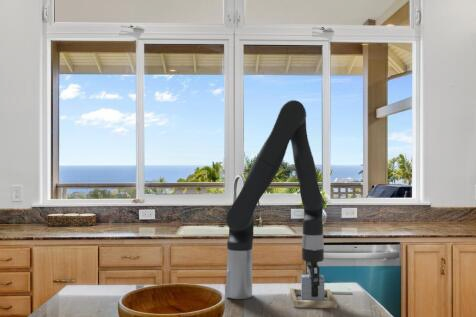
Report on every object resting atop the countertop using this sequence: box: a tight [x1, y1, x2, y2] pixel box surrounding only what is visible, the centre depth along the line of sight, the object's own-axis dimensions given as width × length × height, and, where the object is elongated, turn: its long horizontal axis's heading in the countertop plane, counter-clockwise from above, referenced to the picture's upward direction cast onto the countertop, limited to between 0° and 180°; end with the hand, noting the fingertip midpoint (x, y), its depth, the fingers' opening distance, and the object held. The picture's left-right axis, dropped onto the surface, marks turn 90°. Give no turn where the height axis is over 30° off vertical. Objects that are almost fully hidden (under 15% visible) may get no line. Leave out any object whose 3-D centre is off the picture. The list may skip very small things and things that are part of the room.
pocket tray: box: [289, 288, 338, 309], centre depth 147 cm, size 14×14×2 cm
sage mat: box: [324, 282, 352, 295], centre depth 160 cm, size 11×11×1 cm
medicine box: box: [300, 274, 325, 301], centre depth 147 cm, size 8×4×9 cm, turn 84°
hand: (313, 292), depth 147 cm, fingers open, 8 cm apart
